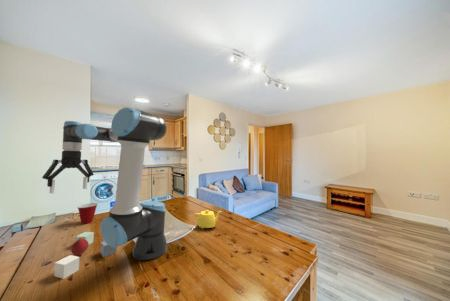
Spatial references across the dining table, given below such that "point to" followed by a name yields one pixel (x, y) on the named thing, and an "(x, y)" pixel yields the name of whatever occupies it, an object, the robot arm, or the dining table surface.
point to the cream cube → (66, 266)
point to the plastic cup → (87, 212)
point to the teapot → (207, 219)
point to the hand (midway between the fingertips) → (69, 190)
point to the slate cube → (106, 249)
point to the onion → (79, 246)
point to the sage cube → (86, 236)
